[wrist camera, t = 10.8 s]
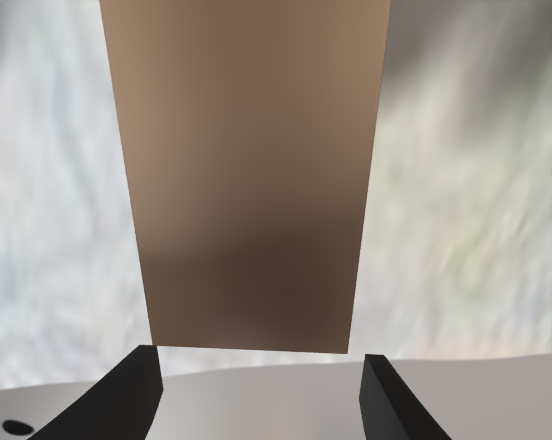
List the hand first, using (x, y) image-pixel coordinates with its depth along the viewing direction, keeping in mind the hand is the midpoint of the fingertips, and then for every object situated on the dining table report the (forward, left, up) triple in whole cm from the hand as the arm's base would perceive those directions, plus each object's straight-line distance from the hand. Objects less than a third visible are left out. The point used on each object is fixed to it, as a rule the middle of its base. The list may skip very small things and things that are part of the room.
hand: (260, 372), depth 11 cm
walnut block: (0, +8, -3) cm, 9 cm away
